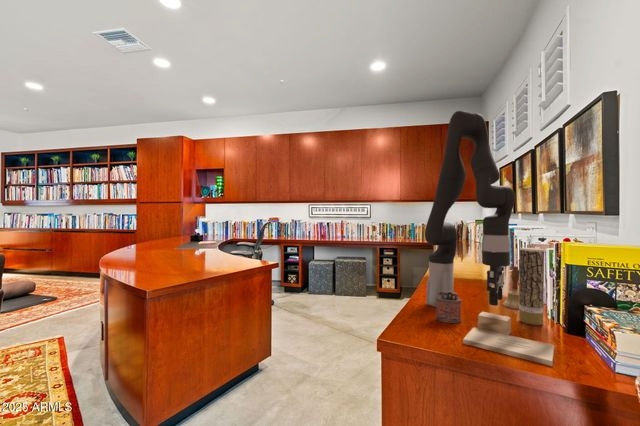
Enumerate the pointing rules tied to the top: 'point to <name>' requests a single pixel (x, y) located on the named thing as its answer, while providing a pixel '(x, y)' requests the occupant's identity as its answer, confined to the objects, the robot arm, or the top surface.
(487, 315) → the beige rectangular block
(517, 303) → the hand bell
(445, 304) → the lighter
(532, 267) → the bark textured post
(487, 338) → the birch board
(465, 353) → the top surface
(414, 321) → the top surface
